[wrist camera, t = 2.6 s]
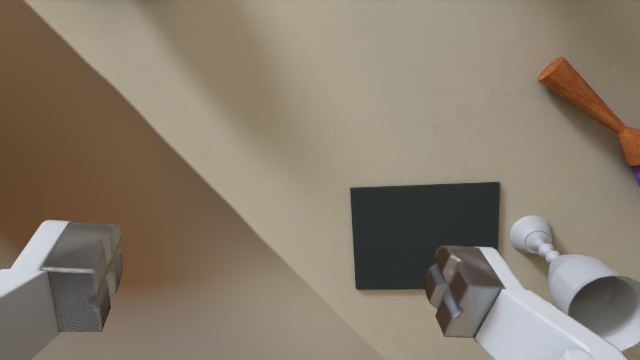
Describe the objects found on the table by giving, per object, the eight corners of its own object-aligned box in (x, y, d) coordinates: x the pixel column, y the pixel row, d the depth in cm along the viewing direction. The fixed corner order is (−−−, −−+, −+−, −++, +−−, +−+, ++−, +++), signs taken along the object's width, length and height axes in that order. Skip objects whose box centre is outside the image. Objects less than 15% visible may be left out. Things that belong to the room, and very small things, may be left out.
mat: (498, 181, 52) (499, 182, 51) (495, 286, 55) (496, 287, 55) (350, 187, 54) (350, 188, 53) (356, 287, 57) (356, 289, 57)
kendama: (584, 40, 43) (734, 168, 43) (555, 54, 49) (686, 166, 49) (544, 85, 44) (691, 212, 44) (519, 93, 49) (649, 205, 50)
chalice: (558, 260, 53) (651, 352, 36) (502, 263, 54) (565, 354, 37) (560, 204, 51) (658, 273, 34) (501, 208, 52) (568, 277, 35)
